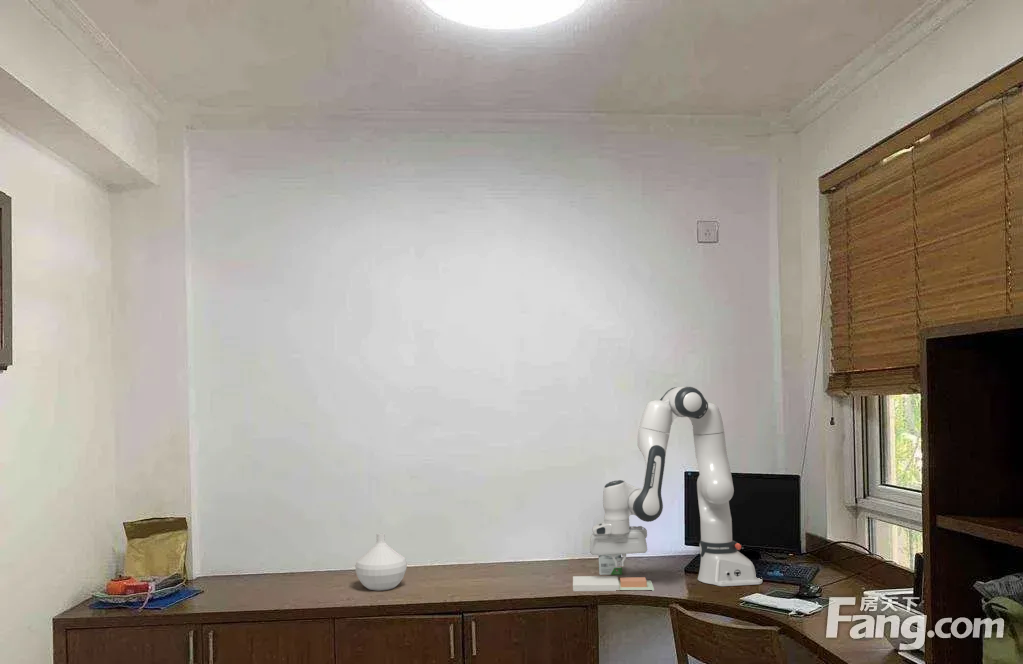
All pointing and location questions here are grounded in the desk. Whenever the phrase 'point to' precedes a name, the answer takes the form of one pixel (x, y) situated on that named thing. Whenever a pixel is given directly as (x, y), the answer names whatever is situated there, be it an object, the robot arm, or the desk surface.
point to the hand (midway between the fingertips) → (619, 566)
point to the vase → (381, 566)
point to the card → (633, 582)
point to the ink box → (609, 565)
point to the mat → (649, 587)
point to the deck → (595, 583)
